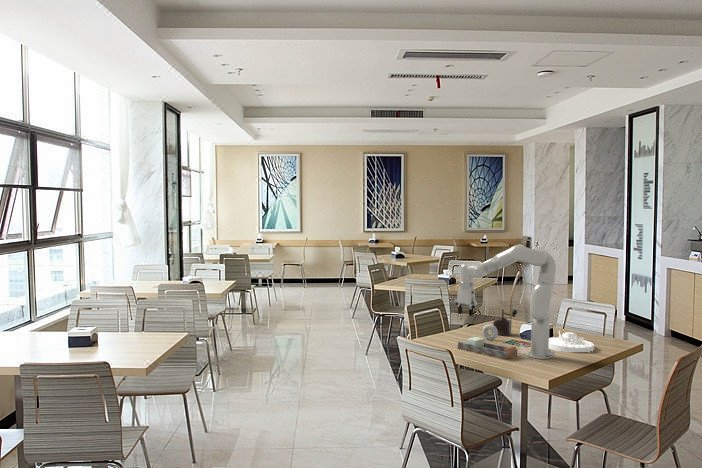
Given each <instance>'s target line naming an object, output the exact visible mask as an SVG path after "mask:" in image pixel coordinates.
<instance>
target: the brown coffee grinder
mask: <svg viewBox="0 0 702 468" xmlns="http://www.w3.org/2000/svg"><path fill="white" fill-rule="evenodd" d="M517 314H518V310H517V309H512V310H511V314H510V313H507V312H505V310H504V309H501V316H500V317H499V318H496V319H494V320H493V324H492V325H494V326H495V327H496V328H497V330H498V335H497V336H504V337H510V336H511V335H512V319H508V318H506V317H505V316H504V315H506V316H511V317H512V318H513V317H514V318H515V317H516V315H517Z"/></svg>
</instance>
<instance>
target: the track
mask: <svg viewBox="0 0 702 468" xmlns="http://www.w3.org/2000/svg"><path fill="white" fill-rule="evenodd" d="M457 349H458V350H460V349H461V351H465V350H466V352H469V351H470V353H473V352H474V354H478V353H479V354H478V355H482V354H483V356H486V355H487V356H488V357H491V358H495V359H500V360H504V361H506V360H510V359H513V358H517V357H518V349H517V346H510V347H507V346H504V345H498V344H494V343H489V342H485V341H484V347H480V346H475V345H471V344H467V342H461V341H458V342H457Z"/></svg>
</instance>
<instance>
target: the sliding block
mask: <svg viewBox="0 0 702 468" xmlns="http://www.w3.org/2000/svg"><path fill="white" fill-rule="evenodd" d="M484 342H485V338H482V337H477V336H474V337H468V338H466V344H471V345H475V346H480V347H484Z"/></svg>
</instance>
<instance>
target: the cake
mask: <svg viewBox="0 0 702 468" xmlns="http://www.w3.org/2000/svg"><path fill="white" fill-rule="evenodd" d="M549 349H550V350H552V351H557V352H561V351H563V352H564V353H569V352H588V353H591V352H590V351H592V352H594V351H595V343H593V342H591V341H588V340H586V339H585V340H584V337H578V335H577V333H575V332H572V331H566V332H564V333H562V334H561V330H558V337H554V336H552V337H549ZM593 350H594V351H593Z"/></svg>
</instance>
